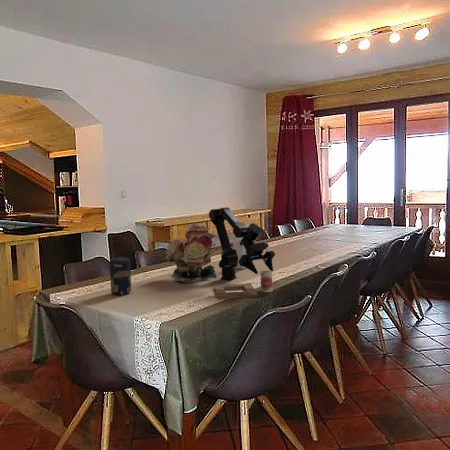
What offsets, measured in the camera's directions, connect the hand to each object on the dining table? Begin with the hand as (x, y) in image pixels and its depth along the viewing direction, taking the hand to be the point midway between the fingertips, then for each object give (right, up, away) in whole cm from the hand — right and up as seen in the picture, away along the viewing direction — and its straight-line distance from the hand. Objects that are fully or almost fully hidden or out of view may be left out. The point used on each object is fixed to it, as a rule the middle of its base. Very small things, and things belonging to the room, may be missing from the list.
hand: (264, 272), depth 209 cm
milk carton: (-9, -3, +56) cm, 56 cm away
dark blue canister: (-69, -11, +3) cm, 70 cm away
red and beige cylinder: (+1, -9, 0) cm, 9 cm away
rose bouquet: (-36, -7, +31) cm, 47 cm away
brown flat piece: (-14, -9, -1) cm, 17 cm away
